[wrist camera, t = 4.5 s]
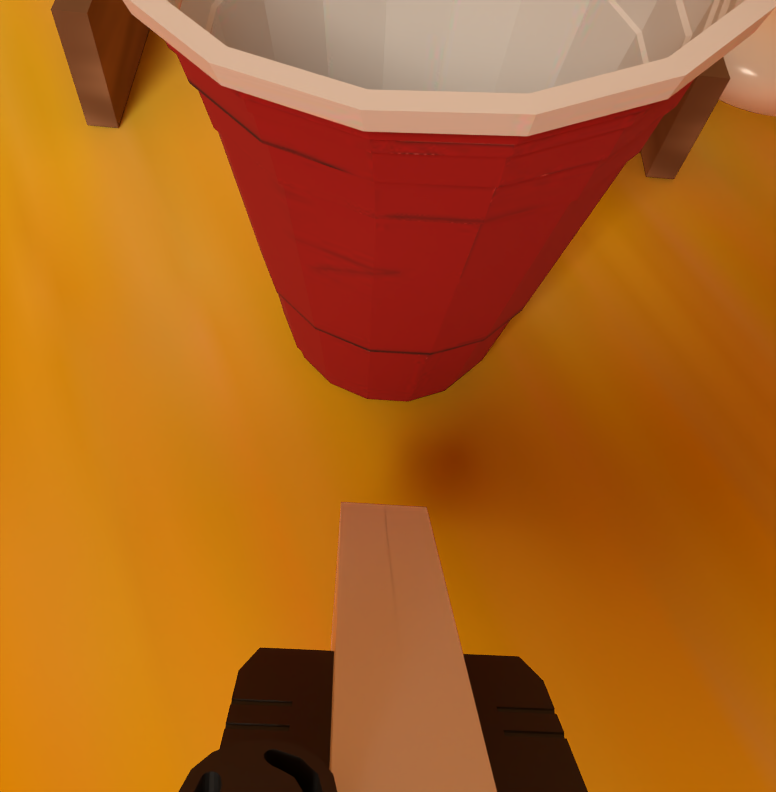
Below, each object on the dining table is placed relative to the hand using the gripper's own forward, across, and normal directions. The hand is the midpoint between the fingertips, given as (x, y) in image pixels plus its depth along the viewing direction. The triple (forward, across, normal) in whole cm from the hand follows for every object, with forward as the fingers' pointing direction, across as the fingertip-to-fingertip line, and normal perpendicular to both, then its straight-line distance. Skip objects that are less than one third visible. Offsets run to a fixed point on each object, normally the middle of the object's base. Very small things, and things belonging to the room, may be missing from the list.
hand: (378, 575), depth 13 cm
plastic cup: (+10, 0, +3) cm, 10 cm away
